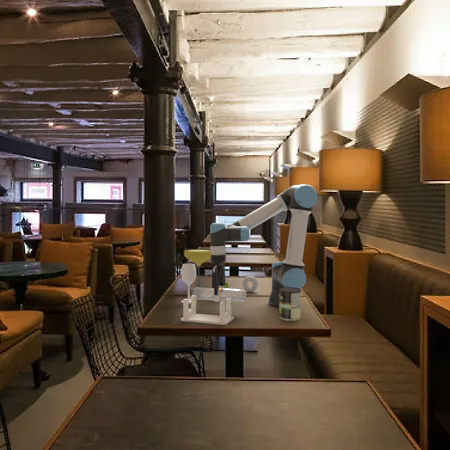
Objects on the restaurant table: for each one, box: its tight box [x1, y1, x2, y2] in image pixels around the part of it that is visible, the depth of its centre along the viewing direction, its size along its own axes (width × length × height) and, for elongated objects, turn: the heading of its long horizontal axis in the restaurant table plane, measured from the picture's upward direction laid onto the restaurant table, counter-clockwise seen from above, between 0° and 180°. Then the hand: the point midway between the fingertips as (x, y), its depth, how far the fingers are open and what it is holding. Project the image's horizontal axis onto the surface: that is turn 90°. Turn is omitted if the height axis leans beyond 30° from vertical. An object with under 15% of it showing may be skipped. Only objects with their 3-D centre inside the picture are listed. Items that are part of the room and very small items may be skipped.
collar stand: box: [180, 294, 235, 326], centre depth 229 cm, size 22×12×10 cm, turn 71°
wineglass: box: [180, 263, 197, 305], centre depth 268 cm, size 9×9×21 cm
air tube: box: [192, 286, 247, 303], centre depth 243 cm, size 26×6×6 cm, turn 72°
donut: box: [241, 275, 259, 293], centre depth 298 cm, size 10×4×10 cm, turn 88°
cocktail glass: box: [183, 248, 212, 292], centre depth 306 cm, size 18×18×25 cm
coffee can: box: [278, 287, 302, 322], centre depth 232 cm, size 10×10×14 cm
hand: (219, 300), depth 243 cm, fingers closed on air tube, 6 cm apart
